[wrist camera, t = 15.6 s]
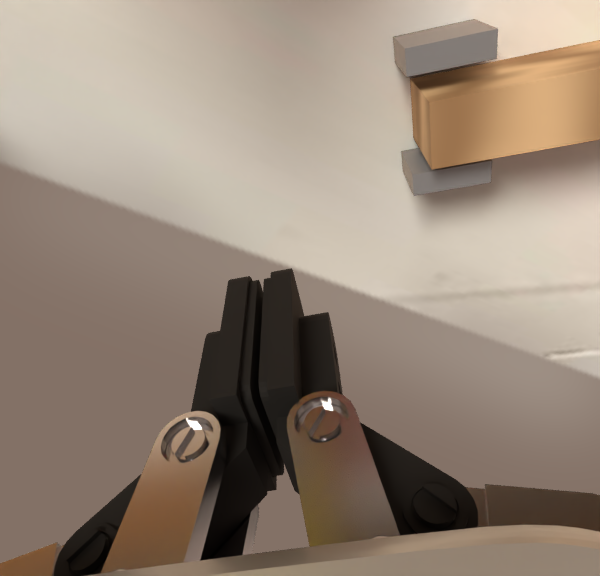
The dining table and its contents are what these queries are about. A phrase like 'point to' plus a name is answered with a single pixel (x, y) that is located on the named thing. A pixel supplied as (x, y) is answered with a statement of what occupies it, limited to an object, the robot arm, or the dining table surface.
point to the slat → (508, 106)
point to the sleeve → (433, 57)
